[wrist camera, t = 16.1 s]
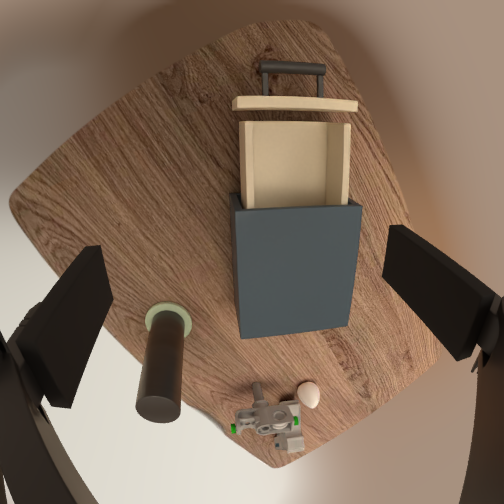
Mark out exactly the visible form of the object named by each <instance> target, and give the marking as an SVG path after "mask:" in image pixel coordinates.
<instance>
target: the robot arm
mask: <svg viewBox="0 0 504 504" xmlns="http://www.w3.org/2000/svg"><path fill="white" fill-rule="evenodd" d="M382 277H383V279H384V280H385V281H386V282H387V283H388V284H389V285H390V286H391V287H392V288H393V289H394V290H395V291H396V292H397V294H398V295H399V296H400V297H401V298H402V299H403V300H404V301H405V302H406V303H407V304H408V306H409V307H410V308H411V309H412V310H413V311H414V312H415V313H416V314H417V316H418V317H419V318H420V319H421V320H422V321H423V322H424V323H425V325H426V326H427V327H428V328H429V329H430V330H431V331H432V333H433V334H434V335H435V336H436V337H437V338H438V340H439V341H440V342H441V343H442V344H443V345H444V347H445V348H446V349H447V350H448V351H449V352H450V354H451V355H452V356H453V357H454V359H455V360H456V361H460V360H462V359H465V358H468V357H470V356H471V355H472V352H473V350H474V348H475V346H476V344H478V345H479V346H480V347H481V351H480V353H479V355H478V357H477V359H476V361H475V363H474V365H473V367H472V370H471V372H474V370H475V369H476V368H477V367H478V372H477V374H478V378H477V380H478V381H477V396H476V409H475V419H474V428H473V436H472V442H471V449H470V455H469V461H468V466H467V471H466V476H465V481H464V485H463V490H462V493H461V498H460V502H459V504H504V297H502V298H501V297H500V296H499V295H497V294H496V293H495V292H494V291H493V290H491V289H490V288H489V287H487V286H486V285H485V284H484V283H482V282H481V281H480V280H479V279H478V278H476V277H475V276H474V275H472V274H471V273H470V272H468V271H467V270H466V269H464V268H463V267H462V266H460V265H459V264H458V263H456V262H455V261H454V260H452V259H451V258H450V257H448V256H447V255H446V254H444V253H443V252H441V251H440V250H439V249H437V248H436V247H434V246H433V245H432V244H430V243H429V242H427V241H426V240H425V239H423V238H422V237H420V236H419V235H417V234H416V233H414V232H413V231H411V230H410V229H408V228H407V227H405V226H404V225H390V226H389V234H388V241H387V248H386V255H385V261H384V267H383V273H382ZM113 300H114V299H113V296H112V292H111V288H110V284H109V280H108V276H107V272H106V268H105V263H104V259H103V254H102V250H101V245H97V246H86V247H85V248H84V249H83V250H82V251H81V252H80V254H79V255H78V256H77V257H76V258H75V260H74V261H73V262H72V263H71V265H70V266H69V267H68V268H67V270H66V271H65V272H64V273H63V275H62V276H61V277H60V279H59V280H58V281H57V282H56V284H55V285H54V286H53V288H52V289H51V290H50V292H49V293H48V294H47V296H46V297H45V299H44V300H43V301H42V302H39V303H38V304H37V305H35V306H34V307H33V308H31V309H30V310H29V311H28V313H27V314H26V316H25V317H24V320H22V321H21V323H20V324H19V327H17V328H16V330H15V331H14V333H13V334H12V336H11V337H10V338H9V340H8V342H7V343H6V342H5V340H4V338H3V336H2V333H1V331H0V504H7V499H6V493H5V486H4V478H5V481H6V483H7V486H8V489H9V491H10V494H11V496H12V499H13V501H14V503H15V504H98V502H97V501H96V499H95V498H94V496H93V495H92V493H91V492H90V491H89V489H88V487H87V486H86V484H85V483H84V481H83V480H82V478H81V476H80V475H79V473H78V472H77V470H76V468H75V467H74V465H73V463H72V462H71V460H70V458H69V456H68V455H67V453H66V451H65V449H64V447H63V445H62V443H61V442H60V440H59V438H58V436H57V434H56V432H55V430H54V428H53V426H52V424H51V422H50V420H49V418H48V415H47V414H46V411H45V410H44V408H43V406H42V405H41V401H42V398H43V396H44V395H45V396H46V398H47V400H48V401H49V403H50V405H51V406H53V407H60V408H70V409H71V406H72V403H73V400H74V397H75V395H76V392H77V389H78V386H79V383H80V381H81V378H82V375H83V372H84V370H85V367H86V364H87V362H88V359H89V357H90V354H91V352H92V349H93V347H94V344H95V342H96V339H97V337H98V334H99V332H100V329H101V327H102V325H103V322H104V320H105V318H106V315H107V313H108V311H109V309H110V306H111V304H112V302H113ZM3 475H4V478H3Z"/></svg>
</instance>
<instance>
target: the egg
mask: <svg viewBox="0 0 504 504" xmlns="http://www.w3.org/2000/svg"><path fill="white" fill-rule="evenodd" d="M297 393H298V396H299V398H300V400H301V401H302V402H303V403H304V404H305V405H306V406H307V407H309V408H315V407H316V406H317V405H318V402H319V399H320V392H319V389H318V387H317V386H316V385H315V384H314V383H312V382H305V383H303V384H301V385H300V386H299V387H298V390H297Z"/></svg>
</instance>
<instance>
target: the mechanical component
mask: <svg viewBox="0 0 504 504" xmlns="http://www.w3.org/2000/svg"><path fill="white" fill-rule="evenodd" d="M252 387H253V388H252V390H253V395H254V400H255V402H254V403H253V405H252V407H253V408H250V409H241V410H238V411H237V412H236V413H235V421H236V426H235V424H231V431H232V433H236V431H237V435H241V430H244V429H245V428H253V429H255V430H256V433H257V434H259V435H268V434H274V433H281V432H288V431H293V428H294V426H296V425H299V421H298V417H297V416H293V415H292V413H291V411H290V408H289V407H288V406H286V405H275V406H268V402H267V401H265V400H264V397H263V393H262V388H261V385H260V383H259V382H255V383H253V384H252ZM246 422H250V423H248V424H246Z"/></svg>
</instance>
